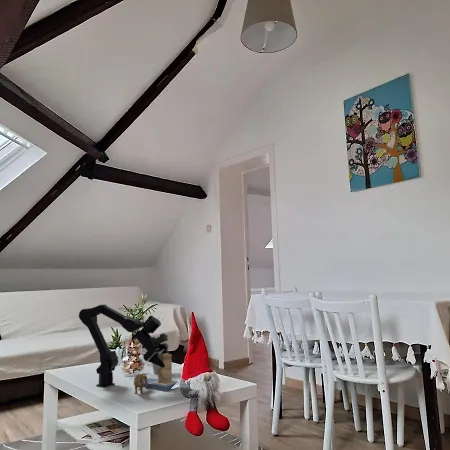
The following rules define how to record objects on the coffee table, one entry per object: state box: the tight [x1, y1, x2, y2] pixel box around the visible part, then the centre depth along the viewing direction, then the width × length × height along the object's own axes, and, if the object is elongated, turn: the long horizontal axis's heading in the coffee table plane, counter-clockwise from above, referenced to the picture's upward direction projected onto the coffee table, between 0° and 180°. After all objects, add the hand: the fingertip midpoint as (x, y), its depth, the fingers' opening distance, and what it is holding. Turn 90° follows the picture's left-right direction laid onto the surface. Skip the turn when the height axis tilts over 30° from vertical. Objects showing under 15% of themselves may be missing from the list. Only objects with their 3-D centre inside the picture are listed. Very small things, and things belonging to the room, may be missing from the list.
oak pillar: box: [157, 353, 173, 384], centre depth 189 cm, size 4×4×13 cm
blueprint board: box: [143, 377, 176, 392], centre depth 190 cm, size 19×9×2 cm, turn 56°
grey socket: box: [153, 379, 178, 387], centre depth 188 cm, size 8×8×1 cm
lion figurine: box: [133, 373, 149, 395], centre depth 183 cm, size 15×5×9 cm, turn 3°
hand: (167, 364), depth 189 cm, fingers open, 9 cm apart
